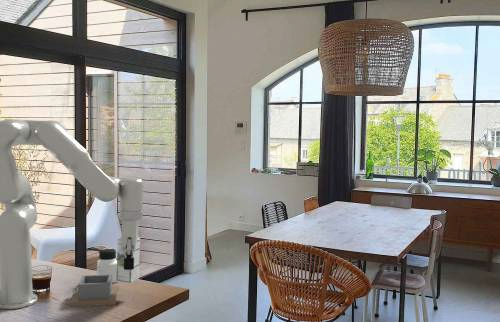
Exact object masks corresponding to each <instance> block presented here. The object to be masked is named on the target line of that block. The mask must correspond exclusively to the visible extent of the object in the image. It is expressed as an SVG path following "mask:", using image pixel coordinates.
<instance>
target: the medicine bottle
mask: <svg viewBox="0 0 500 322" xmlns="http://www.w3.org/2000/svg"><path fill="white" fill-rule="evenodd" d="M98 254H99V256H98V257H99V259H98V260H97V261H96V265H97V266H96V273H97V274H96V275H109V274H112V284H114V283H118V282H119V281H116V276H117V249H116V248H115V249H114V248H111V247H110V248H109V247H106V248H102V249H100V250H99V253H98Z"/></svg>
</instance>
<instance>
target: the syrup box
mask: <svg viewBox="0 0 500 322" xmlns="http://www.w3.org/2000/svg"><path fill="white" fill-rule="evenodd" d="M121 238H122V236H121V237H120V238H118V239H117V246H116V247H117V249H116V260H117V276H116V281H118V282H123V283H134V282H135V281H137V280H139V279H140V253H141V252H140V251H141V249H140V248H141V237H138V239H137V245H136V249H135V250H134V253H133V257H134V269H133V270H124V257H125V249H123V250H122V249H121ZM131 248H133V245H132V241H131Z"/></svg>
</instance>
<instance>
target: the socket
mask: <svg viewBox="0 0 500 322" xmlns="http://www.w3.org/2000/svg"><path fill="white" fill-rule="evenodd" d="M119 290H120V287H119V286H115V285H114V286H113V283H112V274H109V275H97V274H86V275H82V276H81V278H80V279H79V282H78V284H77V289H76V291H75V292H74V294H73V296H72V299H70V307H86V306H87V307H88V306H91V307H92V306H111V305H113V304H114V305H116V304H117V303H116V302H117V299H118V295H119Z"/></svg>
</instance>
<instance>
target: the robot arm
mask: <svg viewBox="0 0 500 322" xmlns="http://www.w3.org/2000/svg"><path fill="white" fill-rule="evenodd" d="M24 145H25V146H42V147H43V148H44V149H45V150H46V151H47V152H49V154H51V155H52V156H53V157H54V158H55V159H56V160H57V161H58V162H60V163H61V164H62V165H63V166H64V167H65V168H66V169H67V170H68V171H69V173H71V175H72V176H73V177H74V178H75V179H76V181H78V183H80V184H81V185H82V186H83V187H84V189H86V190H87V191H88V192H89V193H90V194H91V195H92V196H93V197H94V198H96V199H97V200H99V201H100V202H103V203H110V202H112V201H114V200H116V198H119V220H121V221H122V224H121V237H122V238H121V237H120V238H121V249H122V250H123V249H125V257H124V270H133V269H134V257H133V253H134V250H135V249H136V245H137V239H138V238H139V223H140V221H141V220H143V212H144V211H143V206H144V185H145V184H144V180H143V179H141V178H137V177H125V178H124V177H119V176H118V177H117V176H111V175H110V176H109V175H107V174H106V173H104V172H103V171H102V170H101V169H100V168H99V167H98V166H97V165H96V163H95V162H94V161H93V159H92V157H91V155H90V153H89V152H88V150H87V149H86V148H85V147H84V146H83V145H81V144H80V143H79V142H78V141H77V140H76V139H75V138H74V137H73V136H72V135H71V134H70V133H69V132H68V131H67V128H66V127H65V125H64V124H63V123H61V122H60V121H57V120H32V119H30V120H29V119H10V118H9V119H3V120H0V204H3V205H4V206H5V207H4V208H5V210H4V211H2V212H1V214H0V309H3V310H14V309H21V308H26V307H29V306H31V305H34V304H35V303H37V301H38V296H37V294H35V293H33V270H32V267H33V263H32V261H33V260H32V258H33V256H32V241H31V232H30V230H31V229H32V228H33V227H34V225H36V223H37V220H38V212H37V206H36V202H35V197H34V193H33V189H32V185H31V183H30V181H29V179H28V178H27V176H25V174H22V173H20V172H19V171H18V167H17V162H16V159H15V156H14V153H13V147H14V146H24ZM131 241H132V245H133V248H131Z"/></svg>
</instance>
